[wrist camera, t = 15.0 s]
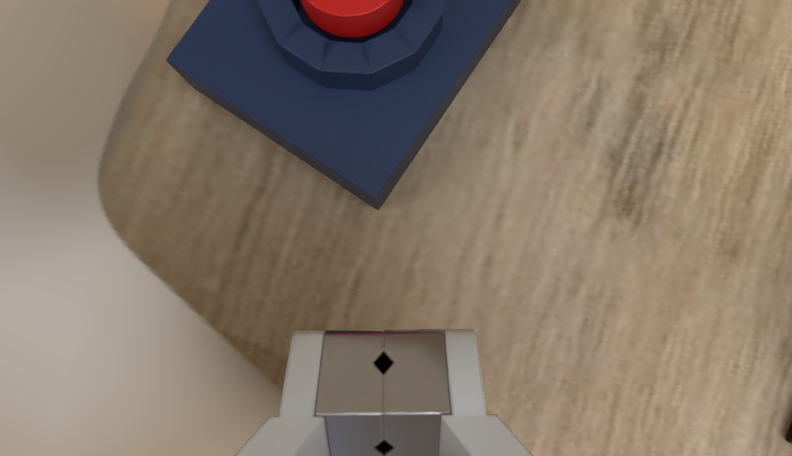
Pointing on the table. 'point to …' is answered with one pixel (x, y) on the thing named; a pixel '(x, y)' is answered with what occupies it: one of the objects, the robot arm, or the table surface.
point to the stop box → (340, 79)
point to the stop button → (352, 15)
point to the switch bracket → (789, 434)
